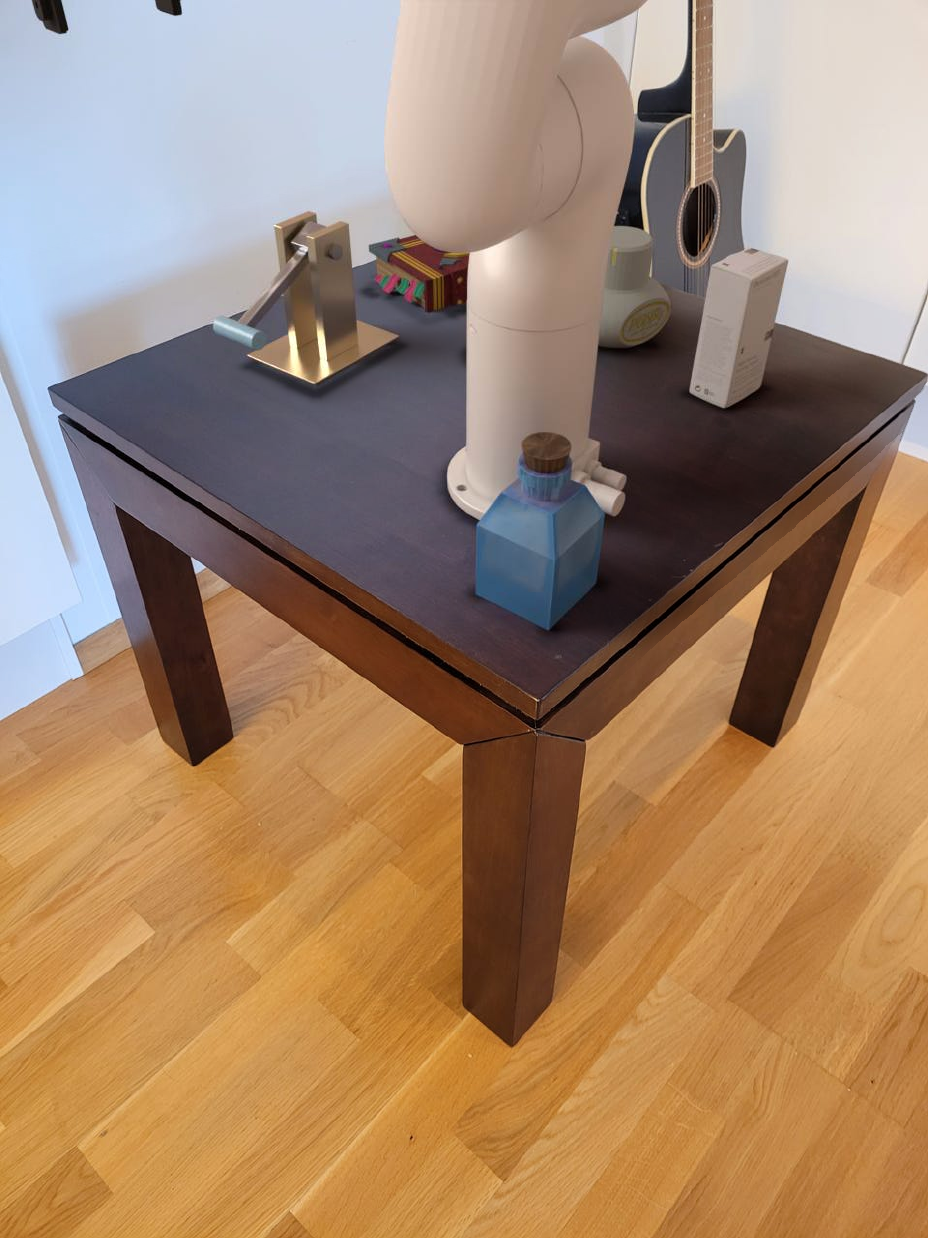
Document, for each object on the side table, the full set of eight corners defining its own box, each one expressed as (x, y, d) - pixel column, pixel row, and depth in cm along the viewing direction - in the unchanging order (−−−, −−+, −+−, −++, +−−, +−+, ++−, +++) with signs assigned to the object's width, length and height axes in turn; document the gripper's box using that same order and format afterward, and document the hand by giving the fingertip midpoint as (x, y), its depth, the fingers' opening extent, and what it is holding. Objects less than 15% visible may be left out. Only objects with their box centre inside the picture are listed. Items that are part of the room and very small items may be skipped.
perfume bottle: (548, 630, 65) (561, 485, 56) (475, 594, 67) (477, 450, 59) (595, 583, 68) (614, 440, 60) (525, 550, 71) (533, 409, 63)
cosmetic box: (726, 410, 86) (754, 280, 77) (685, 393, 88) (708, 264, 80) (763, 386, 89) (794, 258, 80) (722, 370, 91) (748, 244, 83)
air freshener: (602, 367, 91) (614, 265, 85) (544, 336, 96) (550, 237, 89) (678, 334, 96) (695, 235, 90) (619, 306, 101) (631, 210, 94)
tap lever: (259, 357, 83) (247, 338, 81) (220, 341, 85) (207, 322, 83) (347, 250, 86) (337, 229, 84) (308, 237, 88) (297, 216, 86)
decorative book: (540, 287, 105) (542, 242, 101) (418, 325, 98) (416, 278, 94) (479, 253, 111) (480, 210, 108) (361, 287, 105) (358, 241, 101)
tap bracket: (315, 395, 88) (299, 258, 79) (248, 366, 92) (226, 232, 83) (400, 346, 94) (393, 215, 86) (334, 321, 98) (321, 194, 90)
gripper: (-61, -275, 58) (28, 47, 69) (192, -274, 66) (234, 13, 77) (-101, -274, 62) (-11, 29, 73) (142, -273, 70) (188, -1, 82)
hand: (115, 21), depth 75 cm, fingers open, 9 cm apart
